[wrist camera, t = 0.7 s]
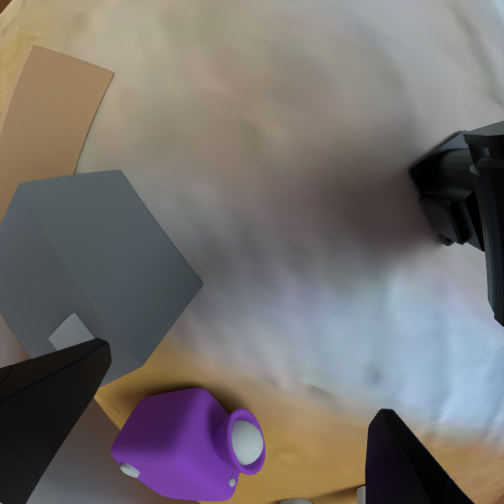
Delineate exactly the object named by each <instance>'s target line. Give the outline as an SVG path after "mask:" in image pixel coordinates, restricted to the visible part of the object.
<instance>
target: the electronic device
mask: <svg viewBox="0 0 504 504" xmlns="http://www.w3.org/2000/svg"><path fill="white" fill-rule="evenodd" d="M280 504H313V503H312V502H311V501H310V500H307V499H301V498H294V499H286V500H282V501H281V502H280Z"/></svg>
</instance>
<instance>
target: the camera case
mask: <svg viewBox="0 0 504 504" xmlns="http://www.w3.org/2000/svg"><path fill="white" fill-rule="evenodd" d="M202 285H203V282H202V281H201V280H200V279H199V277H198V276H197V275H196V273H195V272H194V271H193V270H192V268H191V267H190V266H189V264H188V263H187V262H186V260H185V259H184V258H183V257H182V255H181V254H180V253H179V251H178V250H177V249H176V247H175V246H174V245H173V243H172V242H171V241H170V239H169V238H168V237H167V235H166V234H165V232H164V231H163V230H162V228H161V227H160V226H159V224H158V223H157V222H156V220H155V219H154V217H153V216H152V215H151V213H150V212H149V210H148V209H147V208H146V206H145V205H144V203H143V202H142V201H141V199H140V198H139V196H138V195H137V193H136V192H135V190H134V189H133V188H132V186H131V185H130V183H129V182H128V180H127V179H126V177H125V176H124V174H123V173H122V171H121V170H112V171H102V172H93V173H84V174H76V175H68V176H61V177H54V178H48V179H41V180H35V181H30V182H24V183H19V185H18V187H17V189H16V191H15V193H14V195H13V197H12V199H11V201H10V204H9V206H8V208H7V210H6V213H5V215H4V217H3V220H2V222H1V224H0V313H1V314H2V316H3V318H4V319H5V321H6V323H7V324H8V326H9V327H10V329H11V330H12V332H13V334H14V335H15V337H16V338H17V339H18V341H19V342H20V343H21V345H22V347H23V348H24V349H25V351H26V352H27V354H28V355H29V356H30V358H31V359H32V358H36V357H39V356H42V355H45V354H48V353H52V352H55V351H58V350H61V349H64V348H67V347H70V346H73V345H76V344H79V343H82V342H85V341H88V340H91V339H94V338H102V339H104V340H106V341H108V342H109V344H110V350H111V357H112V363H111V366H110V368H109V369H108V371H107V373H106V375H105V377H104V379H103V380H102V382H101V384H100V386H99V387H101V386H103V385H105V384H108V383H110V382H112V381H114V380H116V379H118V378H120V377H122V376H124V375H126V374H128V373H130V372H132V371H134V370H135V369H137V368H139V367H141V366H143V365H144V363H145V362H146V361H147V359H148V358H149V356H150V355H151V354H152V352H153V351H154V350H155V348H156V347H157V346H158V344H159V343H160V341H161V340H162V339H163V337H164V336H165V335H166V333H167V332H168V331H169V329H170V328H171V327H172V325H173V324H174V323H175V321H176V320H177V318H178V317H179V316H180V314H181V313H182V312H183V310H184V309H185V308H186V306H187V305H188V304H189V302H190V301H191V300H192V298H193V297H194V296H195V294H196V293H197V292H198V290H199V289H200V288H201V286H202Z"/></svg>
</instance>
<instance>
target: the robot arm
mask: <svg viewBox="0 0 504 504" xmlns="http://www.w3.org/2000/svg"><path fill="white" fill-rule="evenodd" d="M415 169H417V171H418V175H417V176H415V174H414V171H415ZM409 175H410V177H411V179H412V181H413V183H414V185H415V187H416V189H417V190H418V192H419V194H420V196H419V202H420V204H421V206H422V208H423V210H424V212H425V214H426V216H427V218H428V220H429V222H430V224H431V227H432V229H433V230H435V231H437V232H438V234H439V237H440V239H441V242H442V243H443V244H444V245H446V246H450V245H452V244H453V243H454V242H456V243H458V244H461V245H463V244H464V243H466V242H467V243H469V244H471V245H472V246H474V247H476V248H478V249H479V250H481V251H483V252H485V257H486V268H487V285H488V301H489V303H490V305H491V308H492V310H493V312H494V318H495V320H496V321H498V322H499V323H500V324H501V325H502V326H503V327H504V121H501V122H498V123H495V124H491V125H488V126H485V127H481V128H478V129H475V130H472V131H469V132H468V131H466V130H465V131H461V132H460V133H458V134H457V135H455V136H454V137H453V138H451V139H450V140H448V141H447V142H446V143H444V144H443V145H441V146H440V147H438V148H437V149H436V150H434V151H433V152H431V153H430V154H428V155H427V156H426V157H424V158H423V159H421V160H420V161H418V162H417V163H416V164H414V165H413V166H411V167H410V169H409ZM446 238H449V240H448V241H446ZM111 363H112V357H111V350H110V344H109V342H108V341H106V340H104V339H102V338H94V339H91V340H88V341H85V342H82V343H79V344H76V345H73V346H70V347H67V348H64V349H61V350H58V351H55V352H52V353H48V354H45V355H42V356H39V357H36V358H32V359H29V360H26V361H23V362H19V363H16V364H14V365H9V366H6V367H2V368H0V502H1V503H2V504H26V502H27V501H28V499H29V497H30V496H31V494H32V492H33V490H34V489H35V487H36V485H37V484H38V482H39V480H40V478H41V477H42V475H43V474H44V472H45V470H46V469H47V467H48V466H49V464H50V462H51V461H52V459H53V458H54V456H55V454H56V453H57V451H58V450H59V448H60V447H61V445H62V444H63V442H64V440H65V439H66V437H67V436H68V434H69V433H70V431H71V430H72V428H73V427H74V425H75V424H76V422H77V421H78V419H79V418H80V416H81V415H82V414H83V412H84V411H85V409H86V408H87V406H88V404H89V403H90V402H91V400H92V398H93V397H94V395H95V394H96V392H97V390H98V388H99V386H100V384H101V382H102V380H103V379H104V377H105V375H106V373H107V371H108V369H109V368H110V366H111ZM365 504H475V503H474V502H473V501H472V500H471V499H470V498H469V497H468V496H467V495H466V494H465V493H464V492H463V491H462V490H461V489H460V488H459V487H458V486H457V484H456V483H455V482H454V481H453V480H452V478H450V476H449V475H448V474H447V473H446V471H445V470H444V469H443V468H442V467H441V466H440V464H439V463H438V462H437V461H436V460H435V458H434V457H433V456H432V455H431V454H430V452H429V451H428V450H427V449H426V448H425V447H424V445H423V444H422V443H421V442H420V441H419V439H418V438H417V437H416V436H415V435H414V434H413V432H412V431H411V430H410V429H409V428H408V426H407V425H406V424H405V423H404V422H403V421H402V419H401V418H400V417H399V416H398V415H397V414H396V412H395V411H394V410H393V409H380V410H379V411H378V413H377V414H376V416H375V417H374V419H373V420H372V421H371V423H370V425H369V428H368V439H367V452H366V464H365Z"/></svg>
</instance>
